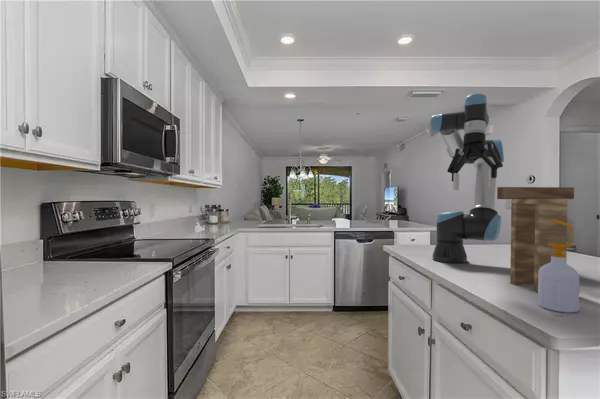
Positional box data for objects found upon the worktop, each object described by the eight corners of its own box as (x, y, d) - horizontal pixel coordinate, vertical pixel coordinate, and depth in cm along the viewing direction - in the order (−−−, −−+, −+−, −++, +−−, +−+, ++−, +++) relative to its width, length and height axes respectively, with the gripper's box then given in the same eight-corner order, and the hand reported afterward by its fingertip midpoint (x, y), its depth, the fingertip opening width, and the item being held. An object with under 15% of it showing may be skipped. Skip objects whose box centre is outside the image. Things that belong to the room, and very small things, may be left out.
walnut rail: (497, 199, 115) (497, 187, 115) (562, 199, 120) (563, 187, 120) (506, 199, 111) (506, 187, 111) (573, 199, 116) (574, 187, 116)
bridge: (510, 283, 121) (511, 198, 121) (534, 282, 123) (535, 198, 122) (539, 293, 109) (540, 199, 109) (565, 291, 111) (567, 199, 111)
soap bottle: (539, 300, 102) (540, 218, 101) (578, 307, 96) (580, 219, 96) (536, 308, 95) (537, 220, 94) (578, 315, 89) (580, 221, 89)
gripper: (439, 138, 140) (437, 189, 137) (503, 124, 119) (502, 184, 117) (450, 142, 144) (448, 192, 142) (514, 129, 123) (513, 187, 121)
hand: (472, 188), depth 129 cm, fingers open, 13 cm apart
